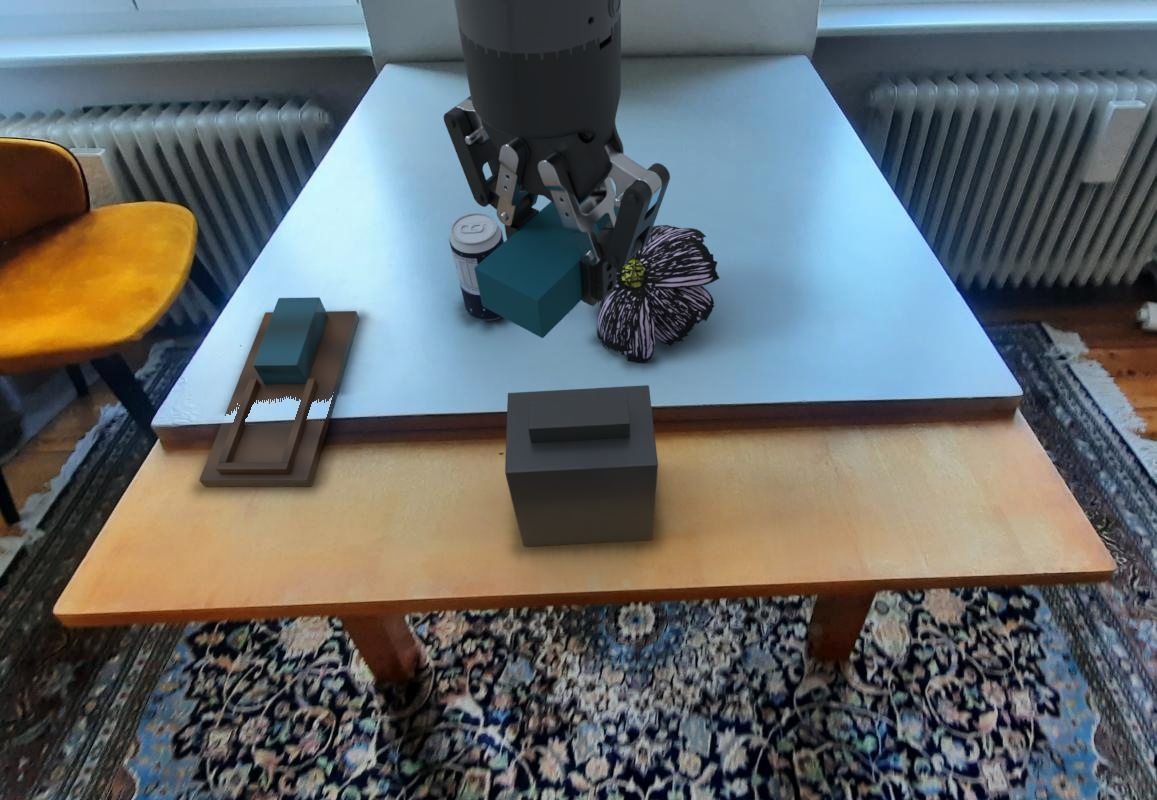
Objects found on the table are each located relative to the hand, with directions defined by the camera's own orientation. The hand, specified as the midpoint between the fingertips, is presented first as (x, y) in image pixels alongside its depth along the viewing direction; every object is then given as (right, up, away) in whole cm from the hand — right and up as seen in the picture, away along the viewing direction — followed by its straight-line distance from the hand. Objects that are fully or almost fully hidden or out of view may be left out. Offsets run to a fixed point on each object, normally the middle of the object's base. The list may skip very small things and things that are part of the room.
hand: (562, 278), depth 47 cm
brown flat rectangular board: (-31, -7, +33) cm, 46 cm away
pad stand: (+2, -18, +23) cm, 29 cm away
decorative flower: (+9, +1, +38) cm, 39 cm away
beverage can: (-9, +3, +40) cm, 41 cm away
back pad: (0, 0, 0) cm, 0 cm away
